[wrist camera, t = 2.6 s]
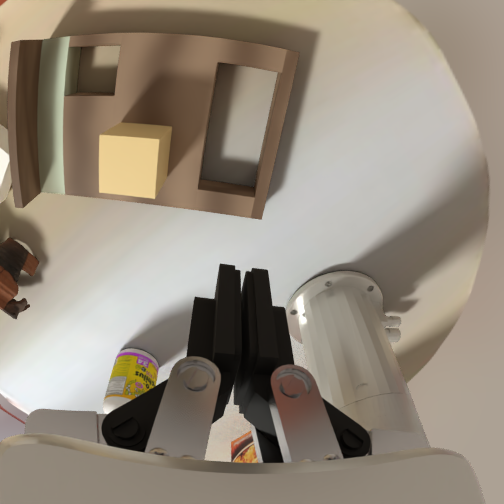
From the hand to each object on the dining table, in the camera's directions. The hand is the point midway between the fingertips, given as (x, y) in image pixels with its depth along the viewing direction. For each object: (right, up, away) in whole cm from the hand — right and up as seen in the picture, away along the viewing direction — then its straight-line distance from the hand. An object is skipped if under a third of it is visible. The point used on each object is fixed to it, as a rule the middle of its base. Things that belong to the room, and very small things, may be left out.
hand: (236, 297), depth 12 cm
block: (-8, +10, +13) cm, 18 cm away
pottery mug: (-31, +1, +21) cm, 38 cm away
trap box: (-9, +14, +13) cm, 21 cm away
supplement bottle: (-16, -14, +32) cm, 39 cm away
